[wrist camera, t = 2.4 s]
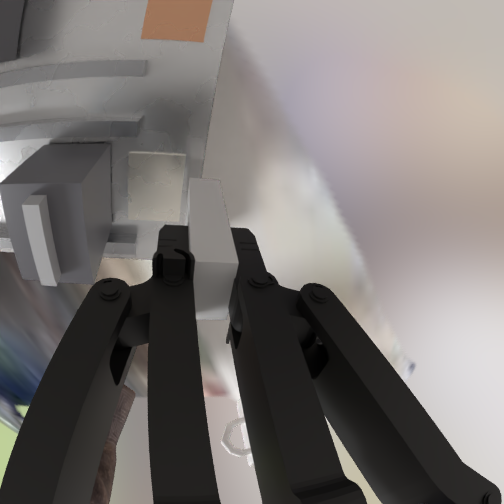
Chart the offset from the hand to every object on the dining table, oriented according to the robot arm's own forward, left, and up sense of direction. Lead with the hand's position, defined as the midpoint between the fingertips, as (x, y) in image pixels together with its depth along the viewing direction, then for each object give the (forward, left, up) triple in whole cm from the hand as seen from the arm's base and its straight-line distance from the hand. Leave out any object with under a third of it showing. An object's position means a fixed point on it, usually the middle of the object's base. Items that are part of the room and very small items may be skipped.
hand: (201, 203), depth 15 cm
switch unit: (-10, +5, -5) cm, 12 cm away
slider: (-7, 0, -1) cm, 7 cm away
